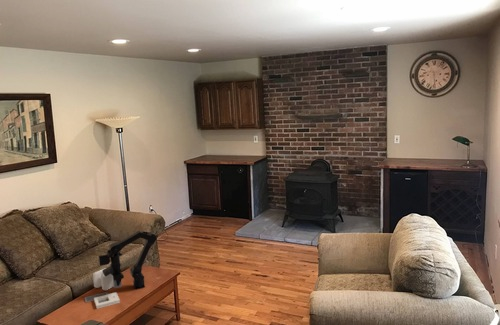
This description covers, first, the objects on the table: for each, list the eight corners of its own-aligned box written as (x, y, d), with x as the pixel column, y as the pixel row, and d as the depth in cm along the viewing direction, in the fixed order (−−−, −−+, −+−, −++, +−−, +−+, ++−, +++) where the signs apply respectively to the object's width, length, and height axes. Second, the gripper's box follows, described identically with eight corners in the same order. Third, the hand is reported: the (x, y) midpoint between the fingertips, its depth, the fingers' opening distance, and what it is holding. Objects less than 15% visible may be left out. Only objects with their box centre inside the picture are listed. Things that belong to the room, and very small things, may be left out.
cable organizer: (102, 292, 269) (100, 276, 267) (93, 288, 275) (91, 272, 273) (121, 284, 281) (120, 268, 279) (112, 280, 287) (110, 265, 285)
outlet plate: (116, 295, 264) (116, 292, 264) (120, 302, 254) (119, 299, 254) (94, 300, 258) (93, 297, 258) (96, 308, 247) (96, 305, 247)
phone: (84, 298, 262) (84, 297, 262) (107, 293, 269) (106, 291, 268) (85, 303, 256) (85, 301, 256) (108, 297, 262) (108, 296, 262)
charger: (120, 283, 271) (119, 275, 270) (121, 286, 267) (120, 278, 266) (113, 285, 269) (112, 277, 268) (114, 288, 265) (113, 279, 264)
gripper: (100, 260, 270) (102, 282, 272) (104, 270, 254) (107, 293, 256) (117, 256, 275) (119, 278, 277) (123, 266, 259) (125, 288, 261)
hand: (117, 284), depth 268 cm, fingers closed on charger, 4 cm apart
